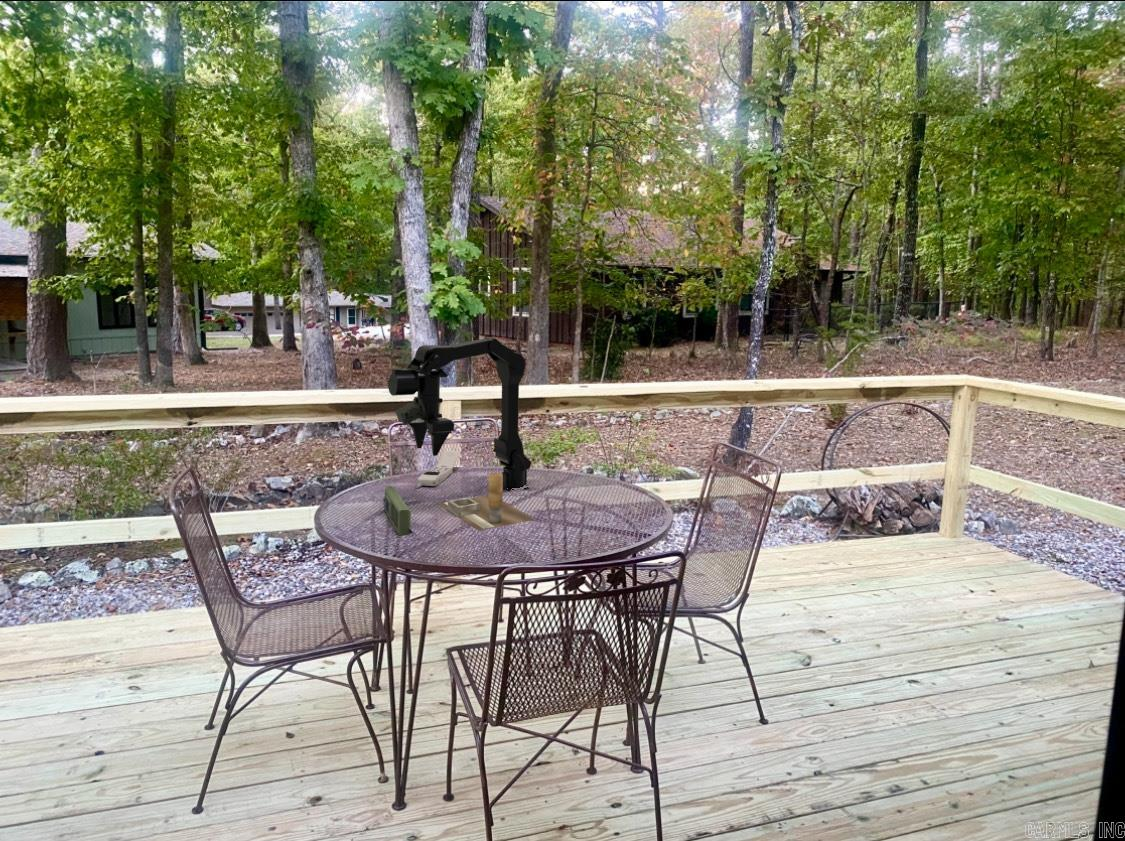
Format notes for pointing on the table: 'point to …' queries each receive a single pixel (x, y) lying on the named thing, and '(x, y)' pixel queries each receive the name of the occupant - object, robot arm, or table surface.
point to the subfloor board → (483, 512)
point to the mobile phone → (439, 469)
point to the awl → (495, 496)
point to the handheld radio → (397, 511)
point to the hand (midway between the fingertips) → (427, 451)
